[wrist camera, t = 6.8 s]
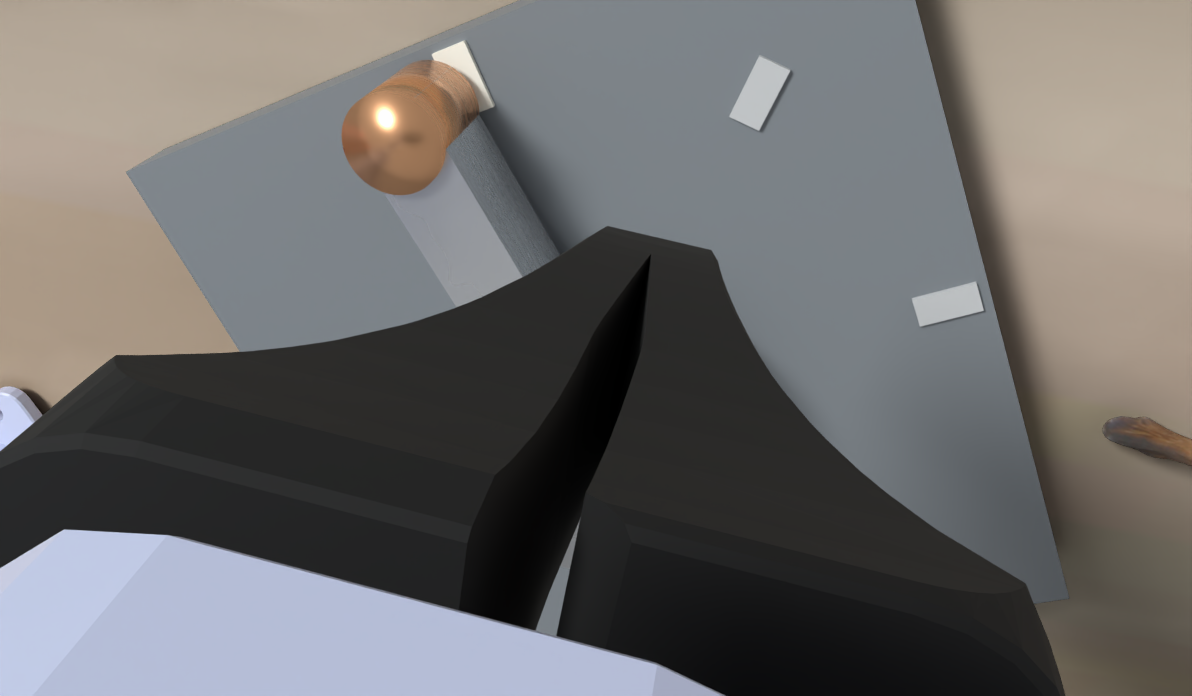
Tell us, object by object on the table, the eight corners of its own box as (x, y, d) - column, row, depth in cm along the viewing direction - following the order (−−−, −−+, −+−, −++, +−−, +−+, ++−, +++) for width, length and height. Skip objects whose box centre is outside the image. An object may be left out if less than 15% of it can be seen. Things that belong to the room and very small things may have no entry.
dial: (803, 467, 21) (802, 535, 19) (552, 543, 24) (529, 609, 22) (553, -17, 17) (521, 9, 15) (280, 135, 20) (224, 173, 18)
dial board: (470, 649, 29) (453, 692, 28) (164, 149, 22) (123, 173, 21) (1055, 553, 23) (1070, 601, 22) (873, -149, 17) (879, -141, 16)
